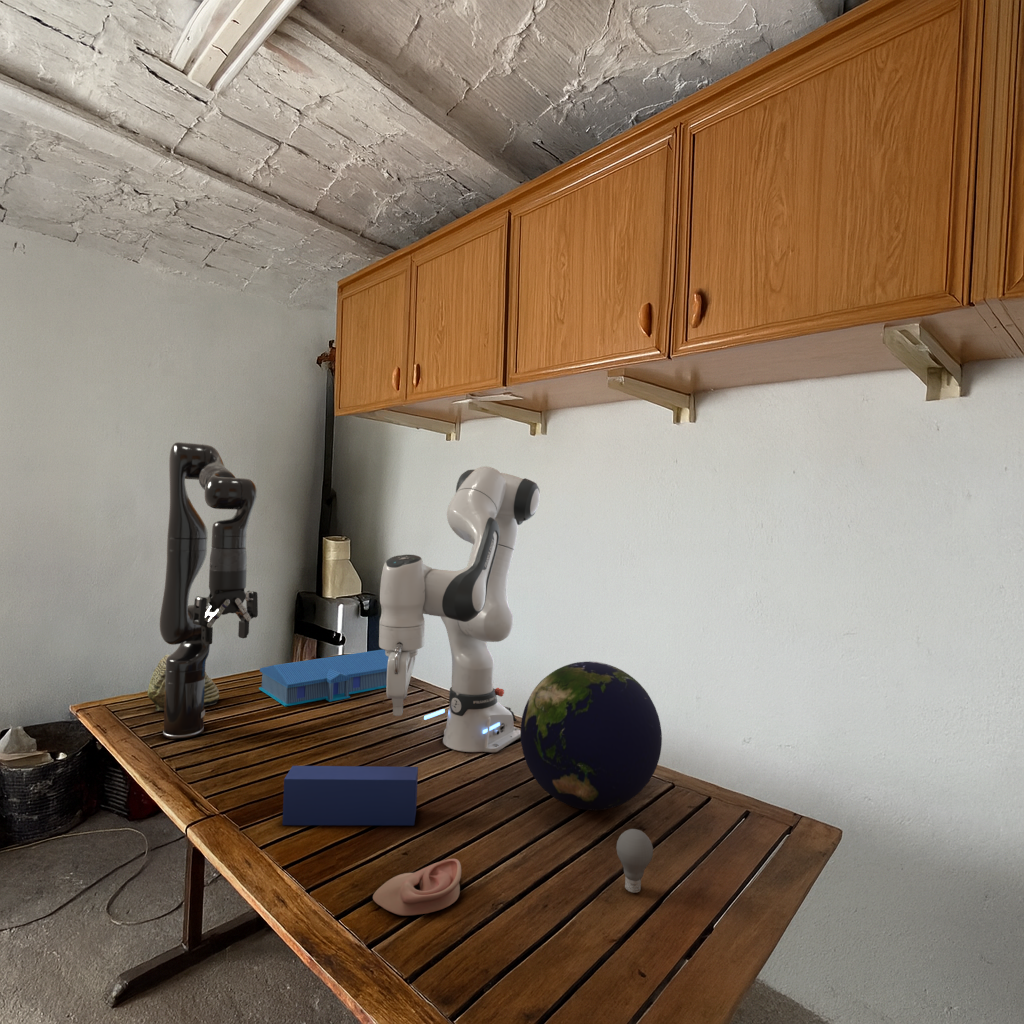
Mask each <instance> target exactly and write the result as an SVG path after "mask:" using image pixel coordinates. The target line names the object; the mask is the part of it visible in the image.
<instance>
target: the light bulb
mask: <svg viewBox="0 0 1024 1024" xmlns="http://www.w3.org/2000/svg"><path fill="white" fill-rule="evenodd" d="M615 849H616V854H617V857H618V859H619V861H620V863H621V865H622V867H623V873H624V874H623V875H624V876H625V878H624V888H625V890H627V891H628V892H630V893H634V894H635V893H639V892H640V891H641V889H642V887H641V886H642V879H643V877H644V875H645V871H646V868H647V867H648V866H649V864H650V863H651V861H652V859H653V855H654V847H653V843H652V841H651V838H649V836H648V835H647V834H646V833H645V832H643V831H642V830H641V829H636V828H629V829H627V830H625V831H623V832H622V833H621V834H620V835H619V837H618V839H617V841H616V847H615Z"/></svg>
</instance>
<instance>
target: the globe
mask: <svg viewBox="0 0 1024 1024" xmlns="http://www.w3.org/2000/svg"><path fill="white" fill-rule="evenodd" d="M521 716H522V717H521V721H520V722H521V723H520V731H521V737H520V744H521V749H522V750H521V751H522V753H523V754H522V755H523V757H524V760H525V763H526V765H527V768H528V769H529V772H530V773H531V775H532V777H533V779H534V780H535V781H536V782H537V784H538V785H539V786H540V787H541V788H542V789H543V790H544V791H545V792H546V793H547V794H549V796H551V797H552V798H554V799H555V800H557V801H558V802H560V803H562V804H564V805H566V806H569V807H572V808H575V809H579V810H582V811H583V810H584V811H603V810H604V811H605V810H609V809H613V808H616V807H619V806H622V805H623V804H626V803H627V802H629V801H631V800H632V799H633V798H635V797H637V795H638V794H639V793H641V792H642V791H643V789H644V788H645V787H646V786H647V784H649V782H650V781H651V780H652V779H651V778H652V777H653V775H654V774H655V772H656V769H657V767H658V764H659V761H660V757H661V753H662V745H663V743H662V742H663V734H662V726H661V720H660V717H659V713H658V710H657V708H656V705H655V703H654V702H653V699H652V698H651V696H650V694H649V693H648V692H647V690H646V689H645V688H644V687H643V686H642V685H641V684H640V683H639V681H638V680H636V679H635V678H634V677H633V676H632V675H630V674H629V673H627V672H626V671H624V670H622V669H621V668H618V667H617V666H614V665H611V664H608V663H604V662H599V661H593V660H592V661H591V660H590V661H578V662H577V661H576V662H572V663H569V664H566V665H564V666H561V667H559V668H557V669H555V670H553V671H552V672H550V673H549V674H547V675H546V676H545V677H544V678H542V679H541V680H540V681H539V683H538V684H537V685H536V686H535V687H534V689H533V690H532V691H531V693H530V695H529V697H528V699H527V701H526V704H525V705H524V709H523V712H522V715H521Z"/></svg>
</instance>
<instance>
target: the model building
mask: <svg viewBox="0 0 1024 1024" xmlns="http://www.w3.org/2000/svg"><path fill="white" fill-rule="evenodd" d="M388 658H389V657H388V656H386V655H385V650H384V649H376V650H368V651H363V652H356V653H349V654H342V655H341V654H340V655H335V656H329V657H328V656H327V657H321V658H315V659H314V658H313V659H307V660H300V661H293V662H287V663H278V664H272V665H268V666H264V667H263V666H262V667H260V668H259V672H260V673H261V686H260V687H258V690H260V691H261V692H262V693H264V694H265V695H267V696H268V697H270V698H271V699H273V700H274V701H276V702H277V703H279V704H280V705H282V706H283V707H290V706H297V705H302V704H307V703H312V702H317V701H323V700H325V701H327V702H329V703H330V702H335V701H341V700H346V699H347V700H348V699H350V698H351V695H353V694H359V693H364V692H365V693H366V692H369V691H373V690H381V689H385V688H386V684H387V665H388Z"/></svg>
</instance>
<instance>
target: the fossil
mask: <svg viewBox="0 0 1024 1024" xmlns="http://www.w3.org/2000/svg"><path fill="white" fill-rule="evenodd" d="M170 655H171V654H165V655H164V656H163V657H162V658H161V659H160V660H159V662H158V663H157V666H156V667H155V669H154V670H153V672H152V675H151V677H150V680H149V684H148V688H147V697H148V699H149V700H150V701H152V703H153V704H154V706H155V711H158V712H159V711H162V712H163V711H164V705H165V674H166V660H167V658H168V657H169V656H170ZM207 675H208V674H207V672H206V671H205V693H204V707H207V706H213V705H215V704H217V703H218V701H219V699H220V698H221V696H220V690H219V688H218V686H217V685H216V683H215V682H214V681H213V679H212V678H211V677H209V675H208V676H207Z"/></svg>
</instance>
